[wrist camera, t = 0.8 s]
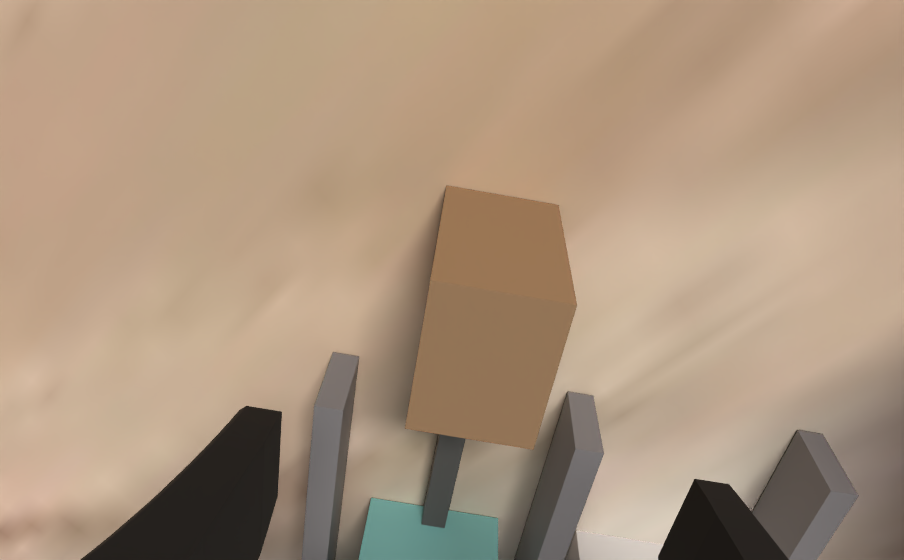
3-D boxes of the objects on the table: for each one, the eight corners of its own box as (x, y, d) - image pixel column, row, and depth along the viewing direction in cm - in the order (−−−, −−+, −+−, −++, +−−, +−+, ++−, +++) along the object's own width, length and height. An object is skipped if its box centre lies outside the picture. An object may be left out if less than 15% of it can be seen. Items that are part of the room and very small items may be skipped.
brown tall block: (586, 210, 18) (613, 311, 14) (472, 605, 27) (468, 745, 22) (418, 180, 18) (393, 273, 14) (358, 587, 27) (330, 724, 22)
